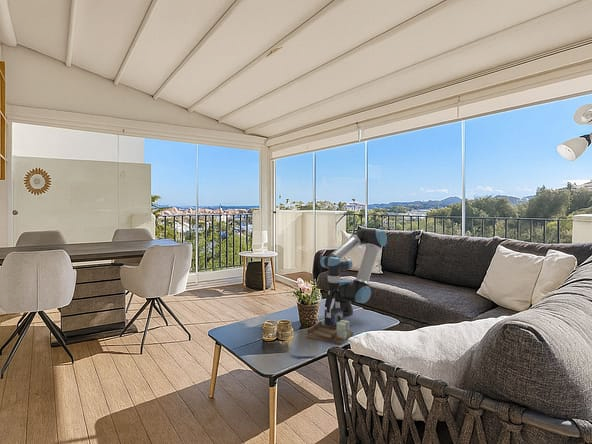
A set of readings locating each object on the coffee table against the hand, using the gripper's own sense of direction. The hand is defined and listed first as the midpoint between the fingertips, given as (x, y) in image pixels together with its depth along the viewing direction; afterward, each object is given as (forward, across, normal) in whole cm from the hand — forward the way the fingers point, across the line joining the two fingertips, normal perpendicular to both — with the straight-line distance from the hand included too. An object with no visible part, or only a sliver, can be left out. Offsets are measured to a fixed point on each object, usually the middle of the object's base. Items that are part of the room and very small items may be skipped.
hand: (333, 314), depth 229 cm
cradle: (+8, +15, +5) cm, 18 cm away
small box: (+8, -1, 0) cm, 8 cm away
